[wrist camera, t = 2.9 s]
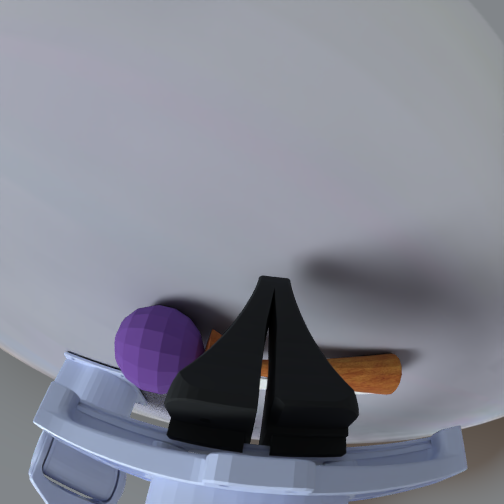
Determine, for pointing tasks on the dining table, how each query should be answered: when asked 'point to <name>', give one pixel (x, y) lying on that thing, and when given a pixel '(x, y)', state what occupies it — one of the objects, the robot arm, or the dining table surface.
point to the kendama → (191, 347)
